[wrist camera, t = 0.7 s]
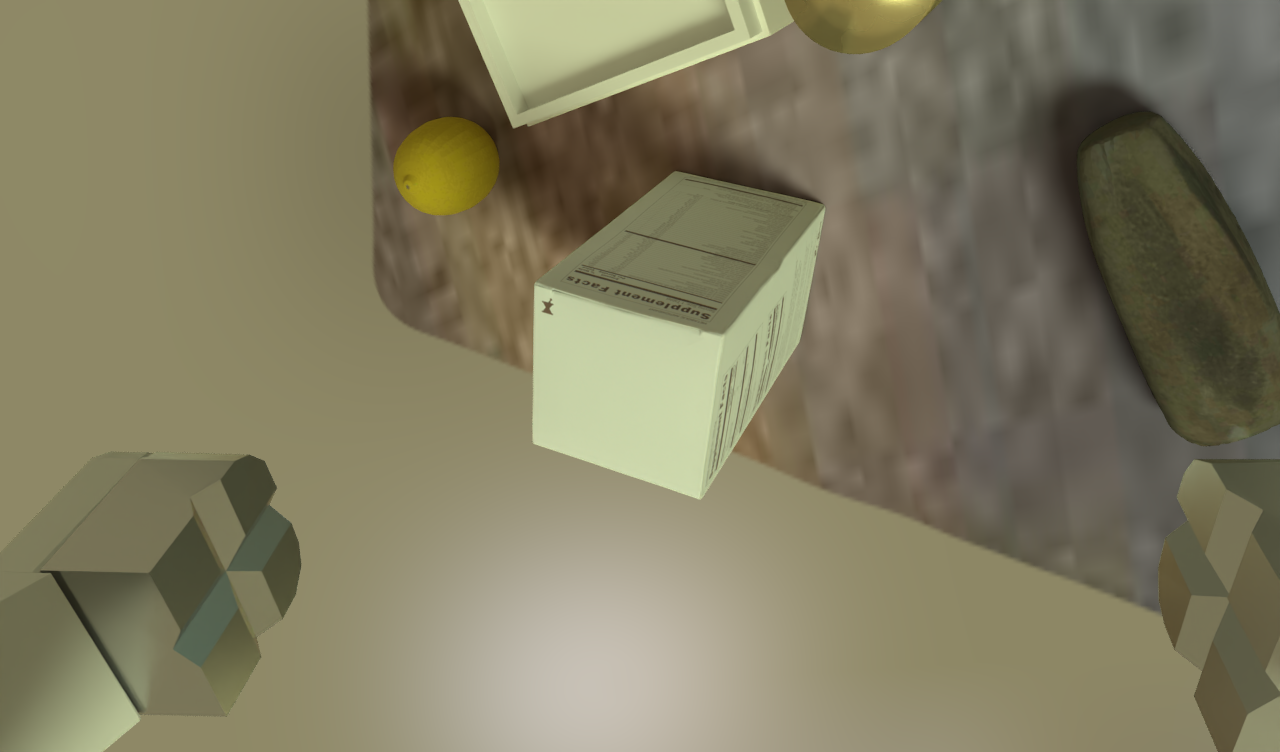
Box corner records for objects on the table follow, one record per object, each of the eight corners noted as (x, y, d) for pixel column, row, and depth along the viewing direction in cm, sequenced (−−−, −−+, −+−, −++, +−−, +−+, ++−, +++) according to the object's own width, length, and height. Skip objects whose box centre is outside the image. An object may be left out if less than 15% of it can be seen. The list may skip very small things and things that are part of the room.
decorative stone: (1317, 394, 46) (1329, 439, 43) (1175, 430, 50) (1177, 473, 47) (1184, 81, 42) (1187, 104, 39) (1041, 145, 46) (1033, 171, 43)
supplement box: (658, 306, 60) (522, 445, 47) (671, 166, 55) (523, 278, 42) (804, 346, 57) (702, 507, 44) (831, 202, 52) (725, 336, 39)
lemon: (435, 112, 60) (353, 148, 54) (504, 95, 57) (427, 130, 51) (465, 195, 62) (390, 239, 56) (533, 182, 59) (462, 226, 53)
